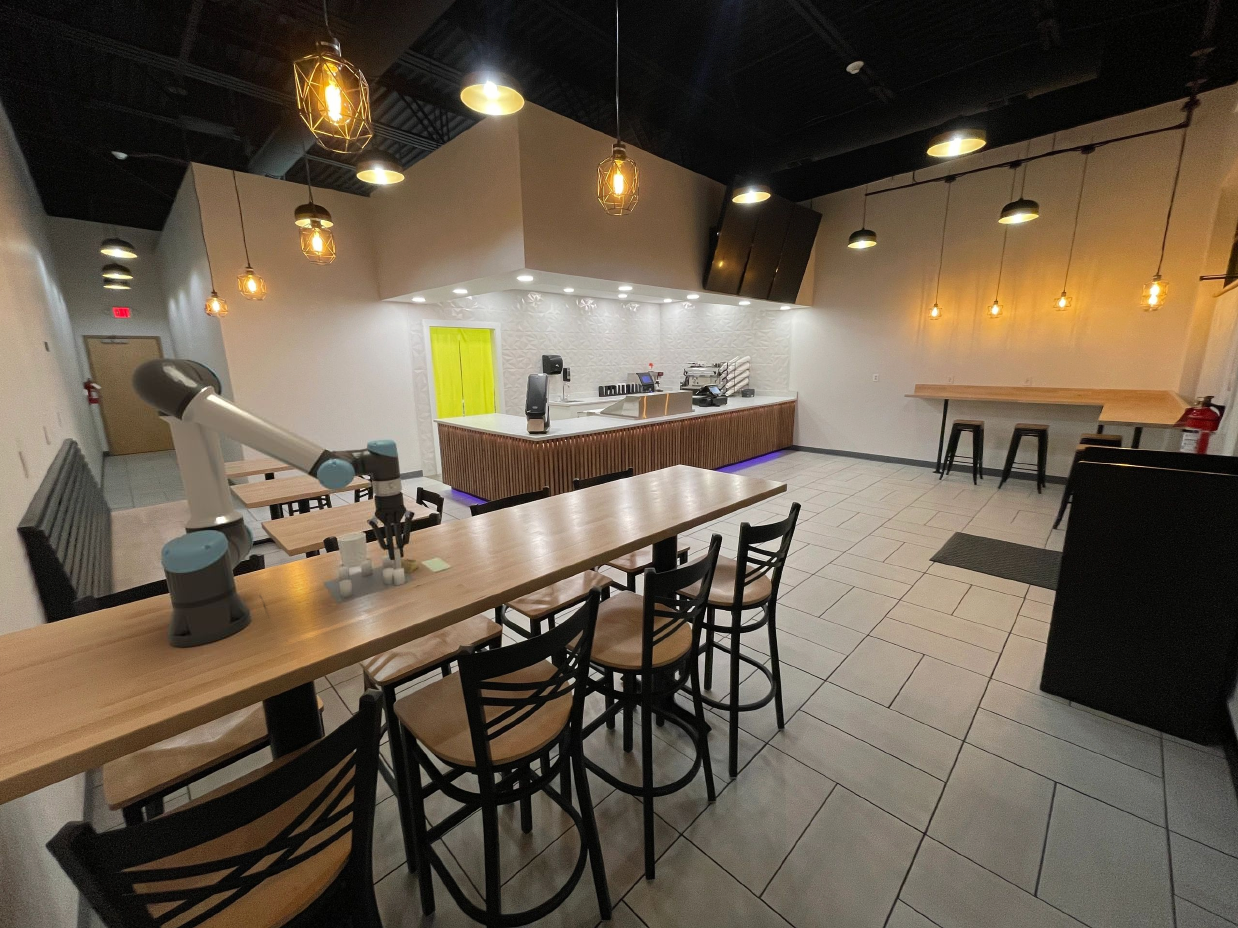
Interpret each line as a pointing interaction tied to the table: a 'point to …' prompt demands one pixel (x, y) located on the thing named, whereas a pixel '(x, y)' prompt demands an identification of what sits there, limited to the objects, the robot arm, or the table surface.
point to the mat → (436, 564)
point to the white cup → (352, 548)
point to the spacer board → (366, 580)
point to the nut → (409, 565)
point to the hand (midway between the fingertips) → (398, 568)
